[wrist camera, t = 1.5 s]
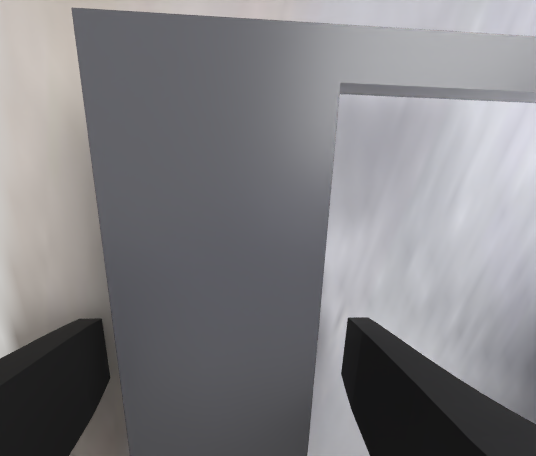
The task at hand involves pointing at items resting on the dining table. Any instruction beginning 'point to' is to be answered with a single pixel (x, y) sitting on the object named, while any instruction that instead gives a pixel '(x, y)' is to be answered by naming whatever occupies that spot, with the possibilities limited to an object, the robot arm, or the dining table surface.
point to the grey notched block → (239, 202)
